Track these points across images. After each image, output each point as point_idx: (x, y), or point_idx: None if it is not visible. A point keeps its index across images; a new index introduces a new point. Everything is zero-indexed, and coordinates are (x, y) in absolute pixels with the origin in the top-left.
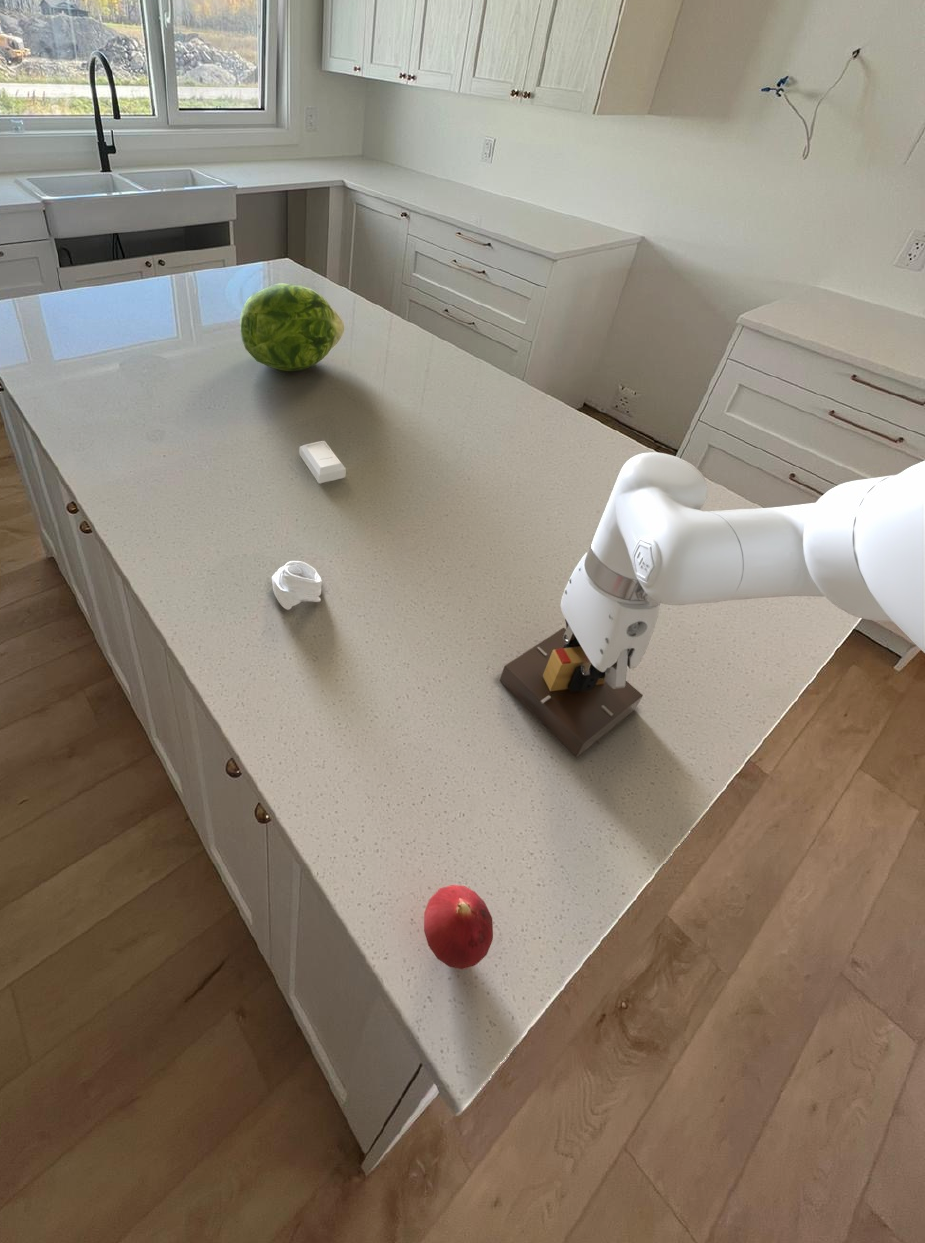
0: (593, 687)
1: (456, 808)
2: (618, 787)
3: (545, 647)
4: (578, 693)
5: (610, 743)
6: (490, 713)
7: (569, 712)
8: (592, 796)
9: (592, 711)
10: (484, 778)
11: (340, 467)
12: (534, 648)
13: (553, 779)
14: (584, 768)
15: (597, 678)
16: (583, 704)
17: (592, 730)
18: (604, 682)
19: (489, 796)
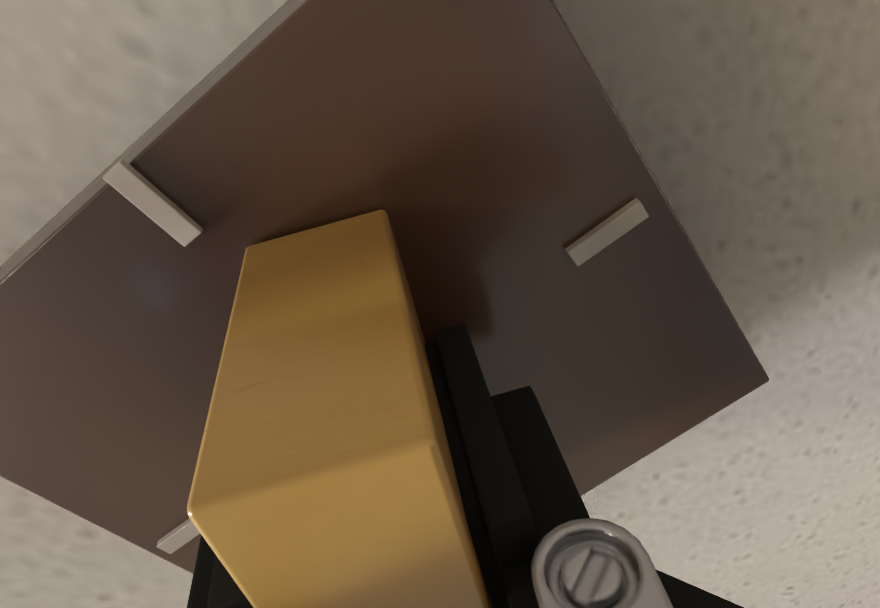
0: (535, 396)
1: (770, 600)
2: (865, 145)
3: (144, 511)
4: None
5: (653, 127)
6: None
7: (595, 424)
8: (860, 266)
9: (599, 314)
10: (709, 558)
11: None
12: (175, 554)
13: (760, 390)
14: (747, 278)
15: (577, 490)
16: (552, 357)
17: (717, 335)
18: (387, 217)
19: (762, 545)
